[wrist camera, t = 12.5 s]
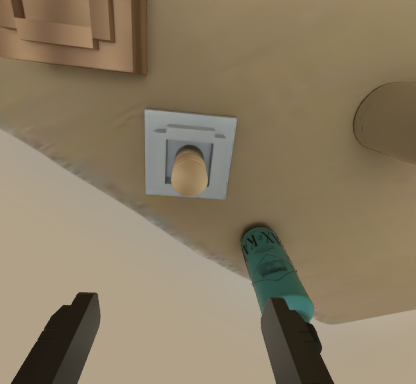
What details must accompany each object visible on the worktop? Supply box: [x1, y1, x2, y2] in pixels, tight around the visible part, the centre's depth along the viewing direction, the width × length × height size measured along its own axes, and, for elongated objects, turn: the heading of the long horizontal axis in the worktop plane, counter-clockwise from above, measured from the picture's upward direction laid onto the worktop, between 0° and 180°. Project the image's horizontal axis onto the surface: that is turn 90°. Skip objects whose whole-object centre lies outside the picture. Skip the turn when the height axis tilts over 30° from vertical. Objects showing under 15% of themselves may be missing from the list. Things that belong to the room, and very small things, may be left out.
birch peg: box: [171, 145, 208, 197], centre depth 29 cm, size 4×4×8 cm
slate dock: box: [145, 108, 237, 199], centre depth 32 cm, size 12×12×4 cm
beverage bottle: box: [241, 227, 322, 353], centre depth 33 cm, size 6×7×20 cm
